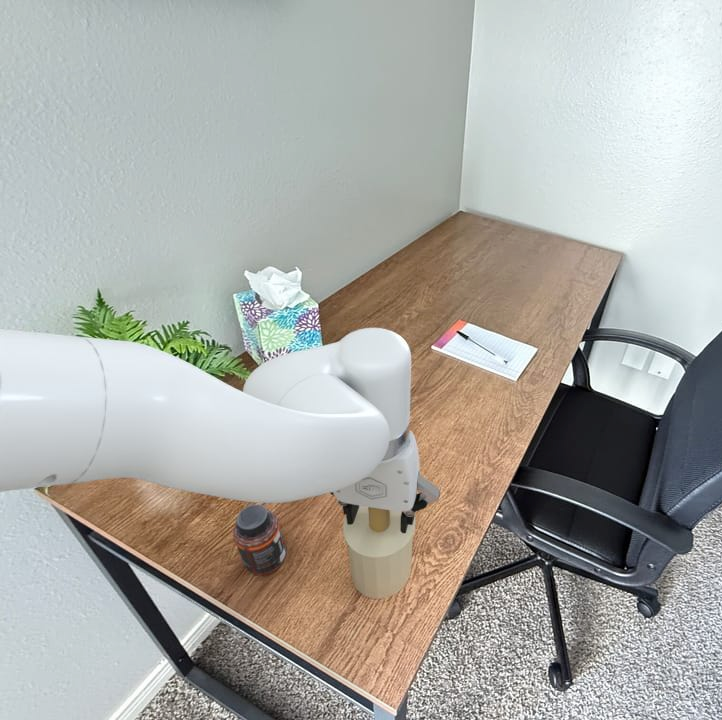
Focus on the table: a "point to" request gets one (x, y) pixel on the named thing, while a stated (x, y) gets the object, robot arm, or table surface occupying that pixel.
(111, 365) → the robot arm
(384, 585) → the tin
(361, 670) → the table surface
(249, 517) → the supplement bottle
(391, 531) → the tin lid
